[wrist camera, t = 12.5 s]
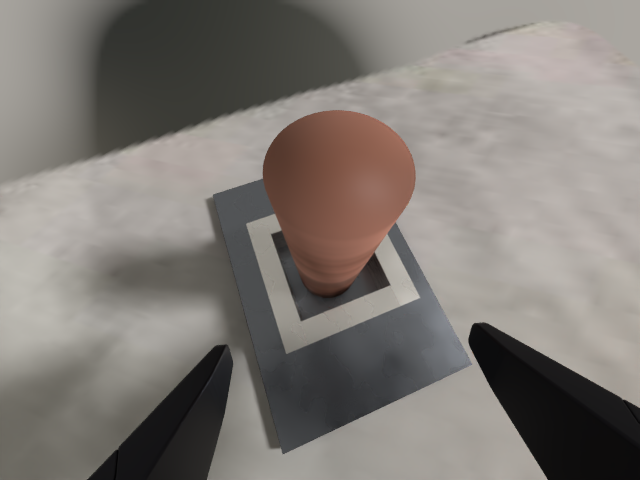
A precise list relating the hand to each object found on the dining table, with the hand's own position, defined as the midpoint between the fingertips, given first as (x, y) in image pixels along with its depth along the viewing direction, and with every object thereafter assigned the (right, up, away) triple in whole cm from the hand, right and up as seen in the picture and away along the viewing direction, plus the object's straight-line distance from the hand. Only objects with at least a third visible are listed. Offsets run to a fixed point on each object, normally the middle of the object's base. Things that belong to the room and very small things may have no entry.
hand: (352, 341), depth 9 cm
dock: (-1, +1, +11) cm, 11 cm away
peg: (-1, +1, +10) cm, 10 cm away
